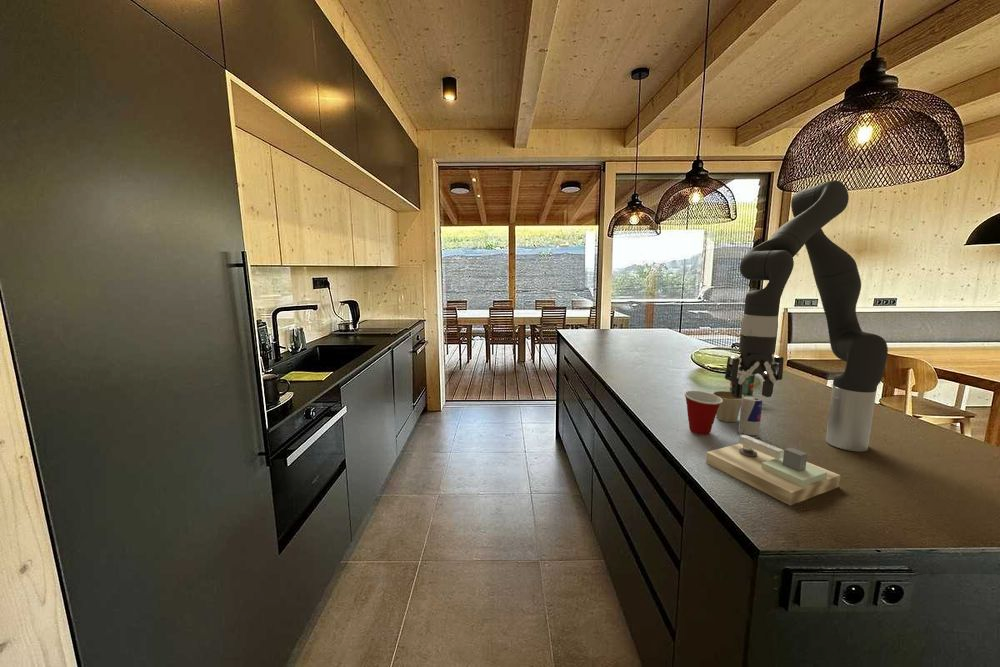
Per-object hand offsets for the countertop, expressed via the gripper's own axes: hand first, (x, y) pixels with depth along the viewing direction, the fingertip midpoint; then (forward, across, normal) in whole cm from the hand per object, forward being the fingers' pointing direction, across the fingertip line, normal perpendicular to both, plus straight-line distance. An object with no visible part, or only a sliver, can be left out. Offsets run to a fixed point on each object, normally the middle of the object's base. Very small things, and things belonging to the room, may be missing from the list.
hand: (751, 397), depth 98 cm
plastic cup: (+19, -4, -22) cm, 30 cm away
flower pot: (+18, -20, -30) cm, 41 cm away
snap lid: (+16, -5, +9) cm, 19 cm away
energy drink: (+18, -17, -17) cm, 30 cm away
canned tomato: (+18, -40, -47) cm, 65 cm away
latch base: (+19, -3, +4) cm, 20 cm away
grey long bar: (+15, -3, +2) cm, 15 cm away
